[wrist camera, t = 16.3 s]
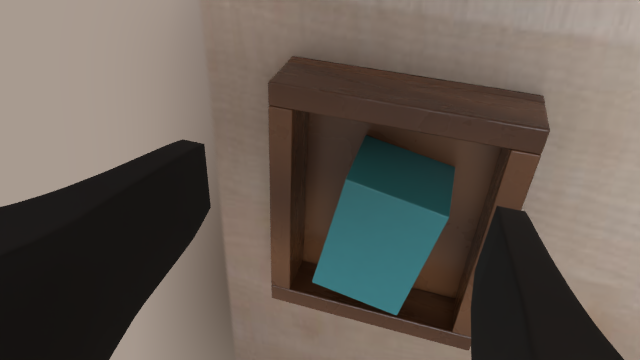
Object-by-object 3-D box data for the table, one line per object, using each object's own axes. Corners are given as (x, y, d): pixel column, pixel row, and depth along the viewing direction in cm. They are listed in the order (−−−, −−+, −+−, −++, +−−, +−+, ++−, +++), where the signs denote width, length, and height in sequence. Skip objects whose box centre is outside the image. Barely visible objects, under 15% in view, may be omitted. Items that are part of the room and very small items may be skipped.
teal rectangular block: (332, 232, 24) (311, 282, 21) (365, 134, 21) (345, 178, 18) (408, 261, 24) (396, 316, 21) (456, 166, 20) (449, 217, 17)
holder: (471, 307, 25) (468, 351, 23) (289, 261, 27) (271, 298, 25) (543, 95, 18) (551, 130, 16) (292, 55, 20) (267, 81, 18)
